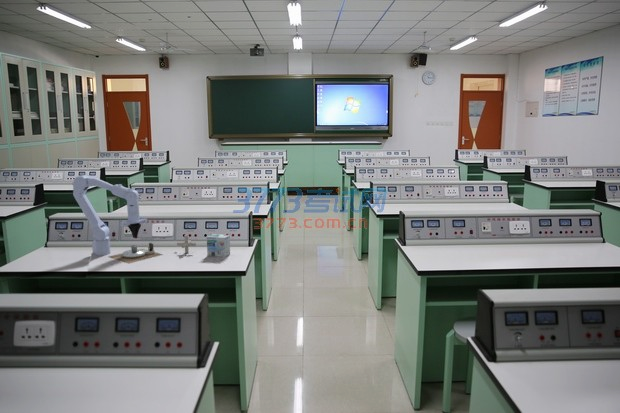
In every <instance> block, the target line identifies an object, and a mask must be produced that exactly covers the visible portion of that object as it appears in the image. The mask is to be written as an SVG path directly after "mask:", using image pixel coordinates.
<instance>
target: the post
mask: <svg viewBox="0 0 620 413" xmlns="http://www.w3.org/2000/svg"><path fill="white" fill-rule="evenodd" d="M130 248H131V249H130V250H131V251H132V253H135V252H137V249H138V246H137V244H136V245H135V244H134V245H131V247H130Z"/></svg>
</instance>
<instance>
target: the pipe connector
mask: <svg viewBox="0 0 620 413" xmlns="http://www.w3.org/2000/svg"><path fill="white" fill-rule="evenodd" d="M183 238H184V241H183V242H182V241H181V242H179V241H178V242H176V245H177V246H179V247H181V248H182V249H184V253H185V254H189V252H190V251H189V247H196V245H197V243H196V242H192V240H189V239H188V238H189V236H188V234H184V237H183Z"/></svg>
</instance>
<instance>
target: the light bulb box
mask: <svg viewBox="0 0 620 413" xmlns="http://www.w3.org/2000/svg"><path fill="white" fill-rule="evenodd" d="M230 238H231V237H230V234H218V233H211V234H210V235H207V236H206V251H207V252H206V253H207V257H218V258H226V257H228V256H230V255H231V239H230Z"/></svg>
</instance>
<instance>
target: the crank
mask: <svg viewBox="0 0 620 413" xmlns="http://www.w3.org/2000/svg"><path fill="white" fill-rule="evenodd" d="M148 247H149V250H148V249H145V250H143V249H144V248H137V252H135V253H132V251H131V249H128V250H125V251H123V252H121V253H122V257H124V258H138V257H142V256H145V255H146V254H155V252H156V251H155V249H154V242H149V243H148Z"/></svg>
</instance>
